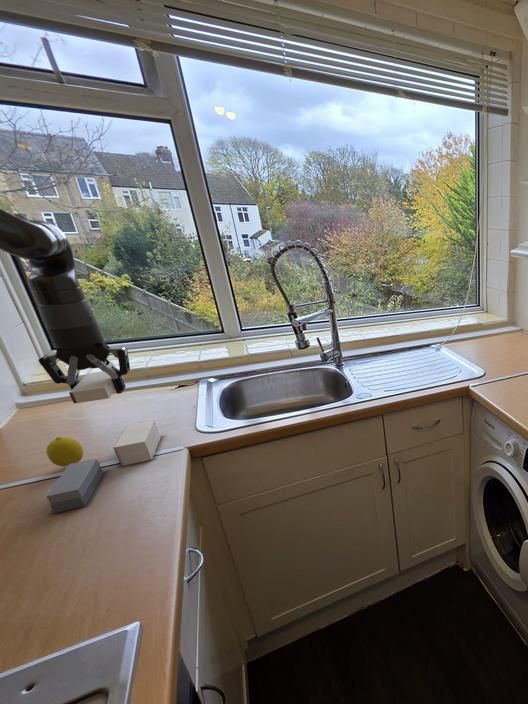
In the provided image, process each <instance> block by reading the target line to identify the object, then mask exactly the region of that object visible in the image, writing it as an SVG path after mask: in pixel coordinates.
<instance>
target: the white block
mask: <svg viewBox="0 0 528 704" xmlns="http://www.w3.org/2000/svg"><path fill="white" fill-rule="evenodd" d="M161 438H162V436H161V434H160V431H159V428H158V426H157V423H156V421H155V420H154V419H153V420H149V421H142V422H137V423H131V424H126V425H125V427H124V428H123V429H122V432H121V434H120V435H119V438H118V439H117V441H116V442H115V444H114V445H113V450H114V452H115V455H116V457H117V460H118V462H119V464H120V466H121V467H124V466H128V465H129V466H130V465H134V464H138V463H143V462H148V461H152V459H153V458H154V455H155V452H156V450H157V448H158V446H159V444H160V440H161Z"/></svg>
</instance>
